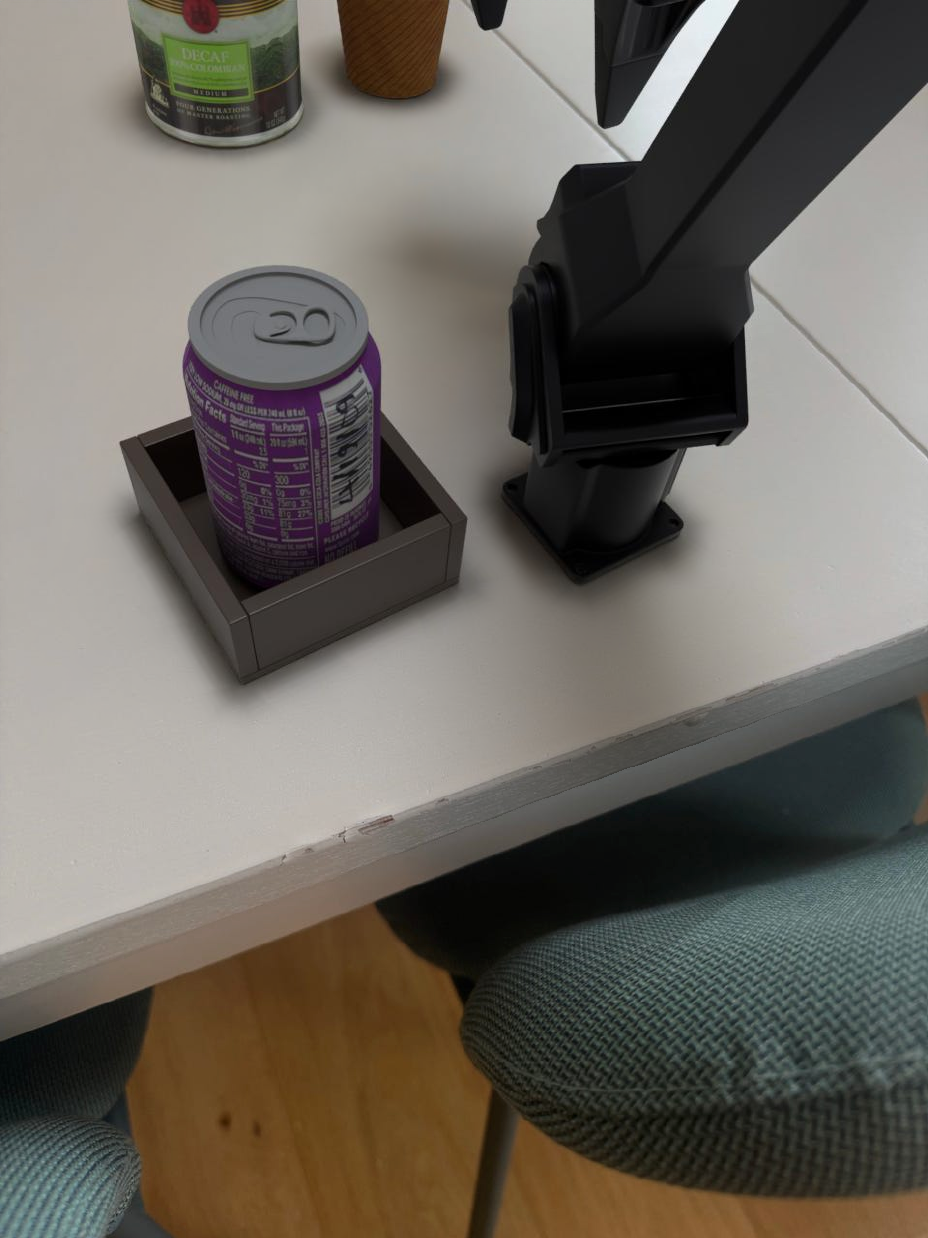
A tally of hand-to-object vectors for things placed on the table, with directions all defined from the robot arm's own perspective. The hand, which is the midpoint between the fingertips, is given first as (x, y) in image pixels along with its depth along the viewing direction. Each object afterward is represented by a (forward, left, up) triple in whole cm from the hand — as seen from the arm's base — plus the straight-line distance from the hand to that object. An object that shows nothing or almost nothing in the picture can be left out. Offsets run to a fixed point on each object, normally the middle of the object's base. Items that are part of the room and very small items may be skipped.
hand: (547, 74), depth 43 cm
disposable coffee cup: (+7, +25, -13) cm, 29 cm away
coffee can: (-5, +26, -13) cm, 30 cm away
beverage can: (-18, -9, -13) cm, 24 cm away
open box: (-18, -9, -13) cm, 24 cm away
